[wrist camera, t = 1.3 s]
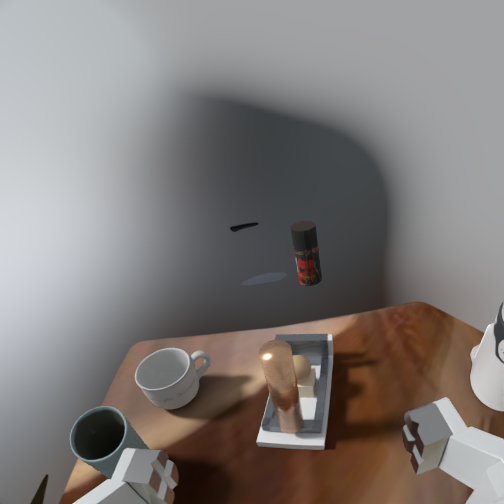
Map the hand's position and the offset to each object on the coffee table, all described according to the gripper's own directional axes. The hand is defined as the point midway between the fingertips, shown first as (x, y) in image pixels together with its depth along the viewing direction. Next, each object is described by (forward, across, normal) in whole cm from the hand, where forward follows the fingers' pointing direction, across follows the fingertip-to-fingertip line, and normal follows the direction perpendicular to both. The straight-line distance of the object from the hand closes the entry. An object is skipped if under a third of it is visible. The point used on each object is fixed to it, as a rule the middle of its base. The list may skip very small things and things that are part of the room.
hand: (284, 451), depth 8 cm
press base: (+33, -1, -29) cm, 43 cm away
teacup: (+37, -22, -27) cm, 51 cm away
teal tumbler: (+20, -28, -30) cm, 46 cm away
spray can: (+68, +7, -23) cm, 72 cm away
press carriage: (+32, -1, -27) cm, 42 cm away
